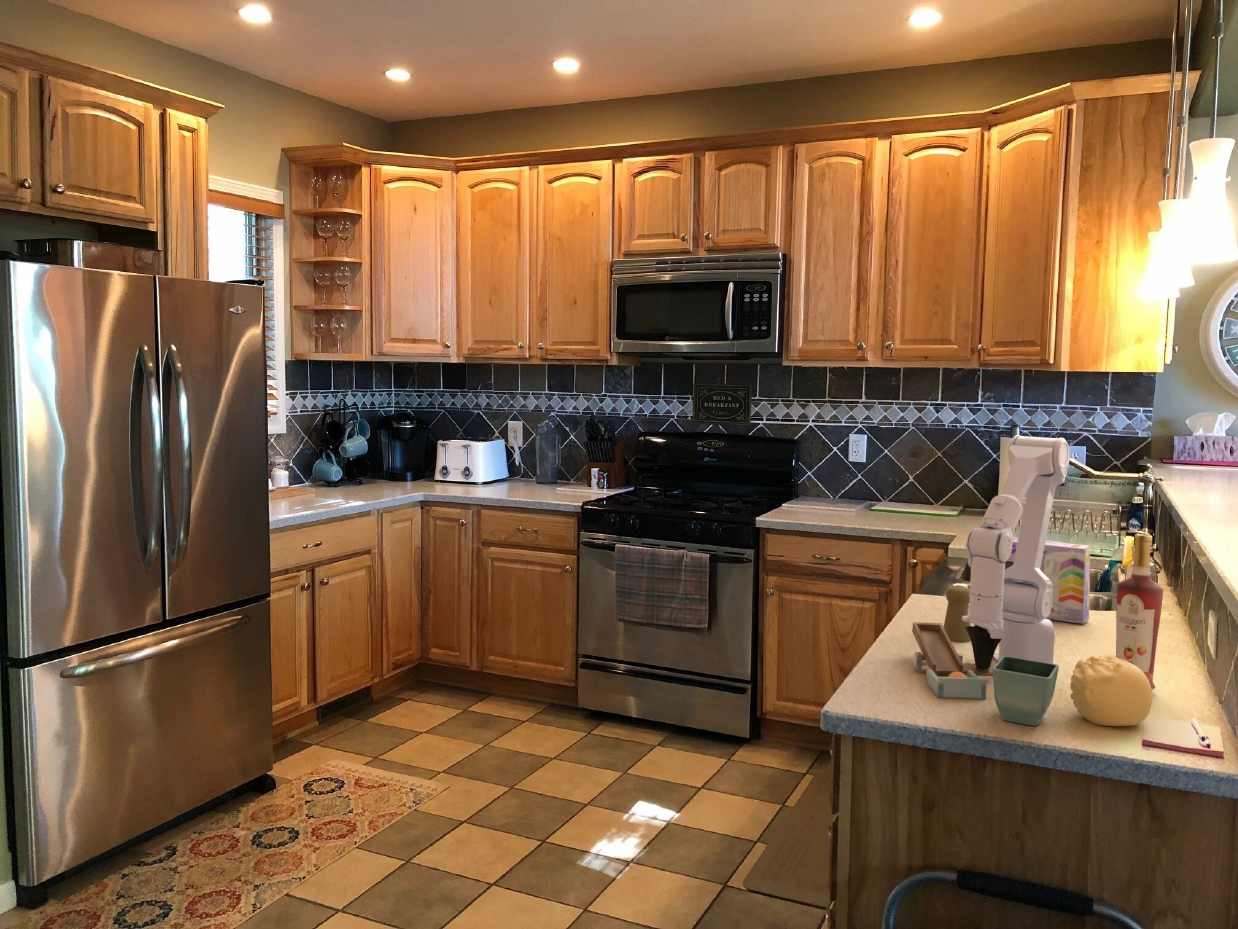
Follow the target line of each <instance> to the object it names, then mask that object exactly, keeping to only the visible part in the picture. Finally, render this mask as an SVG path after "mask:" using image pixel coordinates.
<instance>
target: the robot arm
mask: <svg viewBox="0 0 1238 929" xmlns="http://www.w3.org/2000/svg"><path fill="white" fill-rule="evenodd" d="M1069 446H1070V445H1069V443H1068V442H1067V441H1066V439H1065V438H1064V437H1057V438H1056V437H1055V438H1053V437H1041V436H1039V437H1038V436H1025V435H1024V436H1023V435H1019V434H1017V435H1014V436H1013V437H1012V439H1011V440H1010V442H1009V444H1008V448H1007V460H1008V466H1009V470H1008V473H1007V476H1006V479H1005V482H1004V485H1003V488H1002V490H1001V493H1000V494H999V495H995V496H994V497H992V499H991V500H990V502H989V505H988V507H987V509H986V511H985V514H984V515H983V518H982V520H981V521H980V524H979V526H977V527H975V528H972V529H971V530H970V531H969V533H968V534H967V539H966V544H965V548H966V549H965V550H966V554H967V557H968V558H967V559H968V560H967V561H968V562H967V564H968V567H969V568H970V584H969V589H970V600H969V608H968V616H962V620H963V621H964V622H970V624H973V626H972V625H971V626H967V627H966V630H967V632H968V635H969V637H970V640H971V641H970V644H971V647H972V648H971V649H972V653H973V659H974V664H975V665H976V666H977V667H978V668H987V669H989V668H990V666H992V662H993V659H994V660H995V661H997V662H998V661H999V660H1000V658H1001V657H1002V656H1009V657H1016V658H1021V659H1027V660H1033V661H1039V662H1045V663H1052V664H1054V654H1055V653H1054V652H1055V636H1056V635H1055V628H1054V625H1053V622H1052V621H1051V619H1046V618H1047V617H1048V616H1049V614H1050V612H1051V608H1052V590H1053V584H1052V582H1051V581H1050V580H1049V578H1048V577H1047V576H1046V575H1045V574H1044V573H1043V572H1042V571H1041V570H1040V567H1041V562H1042V557H1043V551H1044V546H1045V541H1046V540H1047V535H1048V529H1049V523H1050V518H1051V513H1052V507H1053V502H1054V496H1055V492H1056V489H1057V487H1058V486H1060V485H1062V484H1064V483H1065V481H1066V477H1067V473H1068V469H1069V463H1070V457H1071V456H1070V447H1069ZM1025 495H1026V496H1025ZM1024 496H1025V502H1024V507H1023V505H1022V504H1021V502H1022V500H1023V499H1024ZM1020 519H1021V522H1020V527H1019V531H1018V532H1019V533H1018V537H1017V538H1018V542H1017V547H1016V553H1015V558H1014V563H1013V565H1012V566H1011V567H1009V568H1007V569H1005V562H1006V561H1007V560H1008V558H1009V557H1010V555H1011V551H1012V545H1013V540H1014V537H1015V535H1014V532H1015V529H1016V527H1017V525H1018V523H1019V520H1020ZM1014 582H1020V583H1027V584H1033V585H1038V586H1039V587H1036V586H1030V585H1024V584H1018V583H1014ZM997 648H998V653H996V650H997ZM997 662H996V663H997Z"/></svg>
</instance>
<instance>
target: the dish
mask: <svg viewBox="0 0 1238 929" xmlns="http://www.w3.org/2000/svg"><path fill="white" fill-rule="evenodd" d="M925 674H926V675H925V683H926V684H927V685H928V687H929V688H930V689H931V690H932V692H933V691H934V692H933V693H934V694H935V695H936V697H937V696H938V697H937V698H938V699H959V698H960V699H964V700H965V699H966V700H986V698H987V683H988V682H987V680H988V679H987V678H986V677H980V676H977V675H976V674H975V673H974V672H973V671H972V670H967V676H966V677H967V678H965V677H948V676H939V675H936V674H935V673H934V672H933V670H932V669H927V672H925Z"/></svg>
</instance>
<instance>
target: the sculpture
mask: <svg viewBox="0 0 1238 929" xmlns="http://www.w3.org/2000/svg"><path fill="white" fill-rule="evenodd" d="M1070 681H1071V682H1070V686H1069V688H1070V690H1071V691H1072V692H1071V693H1070V698H1071V700H1073V701H1072V703H1073V706H1074V707H1075V708H1076V711H1077V713H1078V714H1080V715H1082V716H1083V717H1084V718H1085V719H1086V720H1087V721H1088V722H1090V723H1092V724H1095V725H1097V726H1098V725H1099V726H1105V727H1108V726H1109V727H1131V726H1136V725H1137V726H1138V725H1140V724H1141V723H1143V722H1144V721H1145V720H1146V718H1147V717H1148V715H1149V714H1150V711H1151V709H1152V704H1153V690H1152V689H1151V686H1150V683H1149V680H1148V679H1147V677H1146V675H1145V674H1144V673H1143V672H1142V671H1141V670H1140V669H1139V668H1138V667H1137V666H1135V665H1134V664H1132V663H1130V662H1128V661H1125V660H1122V659H1119V658H1117V657H1116V655H1115V654H1111V653H1110V654H1102V655H1095V656H1094V655H1092V656H1090V657H1088V658H1085V659H1079V660H1078V661H1077V662H1076V664H1075V666H1074V669H1073V671H1072V674H1071V677H1070Z"/></svg>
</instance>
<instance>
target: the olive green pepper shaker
mask: <svg viewBox="0 0 1238 929" xmlns="http://www.w3.org/2000/svg"><path fill="white" fill-rule="evenodd" d="M945 598H946V600H947V607H946V612H945V617H944V623H943V627H944V629H945V631H946V633H947V635H948V637H949V638H950V640H951V642H953V643H954V642H955V643H969V642H971V640H970V637H969V635H968V632H967V630H966V627H967V626H972V623H970V622H964V621H963V620H962V616H968V608H969V600H970V588H968V587H965V586H961V585H960V586H958V585H957V586H950V587H948V588H947V589H946V591H945Z"/></svg>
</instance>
